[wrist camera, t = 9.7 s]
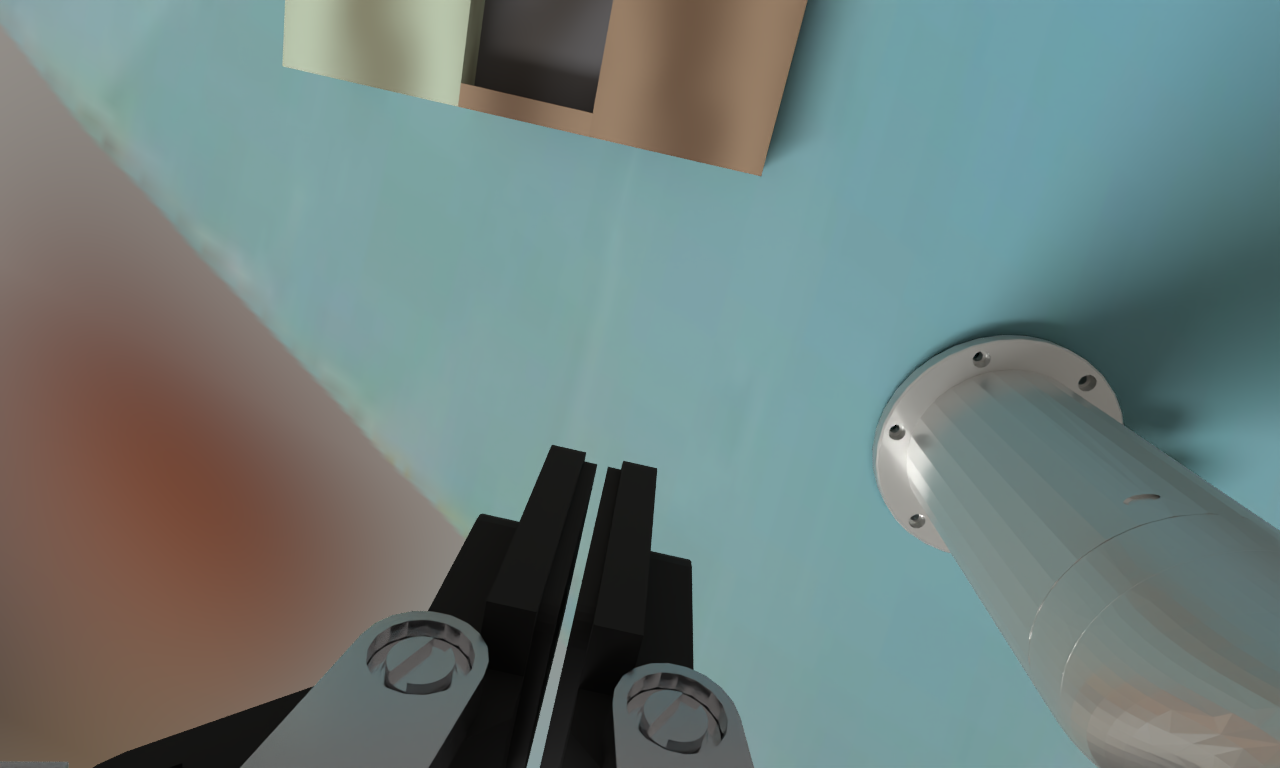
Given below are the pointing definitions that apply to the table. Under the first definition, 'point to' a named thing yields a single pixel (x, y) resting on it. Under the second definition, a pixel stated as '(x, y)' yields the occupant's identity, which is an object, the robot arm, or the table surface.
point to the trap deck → (572, 64)
